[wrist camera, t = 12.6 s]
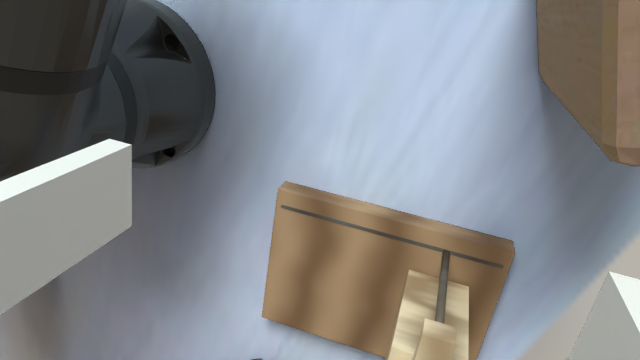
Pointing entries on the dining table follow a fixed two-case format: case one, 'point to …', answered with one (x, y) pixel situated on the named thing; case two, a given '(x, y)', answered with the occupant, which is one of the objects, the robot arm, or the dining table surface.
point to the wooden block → (595, 68)
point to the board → (370, 267)
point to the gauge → (431, 318)
